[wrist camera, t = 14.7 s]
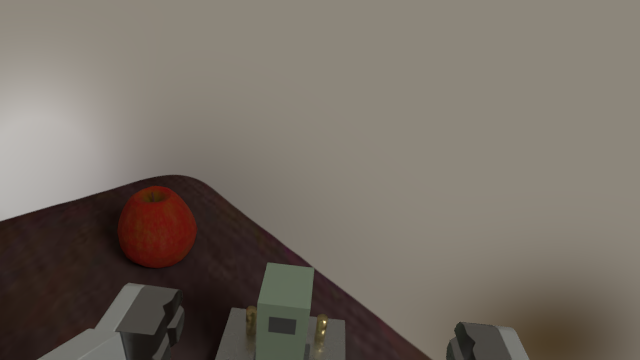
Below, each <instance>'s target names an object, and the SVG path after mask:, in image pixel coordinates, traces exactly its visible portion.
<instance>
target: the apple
mask: <svg viewBox="0 0 640 360" xmlns="http://www.w3.org/2000/svg"><path fill="white" fill-rule="evenodd" d="M196 232H197V226H196V223H195V219H194V216H193V214H192V213H191V211H190V209H189V207H188V206H187V205H186V204H185V202H184V201H183V200H182V199H181V198H180V197H179V196H178V195H177V194H176V193H175V192H173V191H172V190H170V189H169V188H166V187H160V186H152V187H148V188H146V189H143V190H141V191H139V192H137V193H135V194H134V195H132V196H131V198H130V199H129V200H128V201H127V203H126V205H125V207H124V208H123V210H122V213H121V215H120V218H119V222H118V230H117V233H118V237H119V242H120V247H121V249H122V250H123V252H124V253H125V255H126V257H127V258H129V259H130V260H131V261H132V262H134V263H137V264H139V265H142V266H145V267H150V268H163V267H169V266H172V265H174V264H176V263H177V262H179V261H181V260H182V259H183V258H184V257H185V256H186V255H187V254H188V252H189V251H190V249H191V247H192V246H193V244H194V242H195V238H196Z"/></svg>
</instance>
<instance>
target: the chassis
mask: <svg viewBox="0 0 640 360" xmlns="http://www.w3.org/2000/svg"><path fill="white" fill-rule="evenodd" d="M256 335H257V308H256V307H255V306H249V307H247V309H240V308H232V309H231V312H230V315H229V318H228V321H227V324H226V327H225V330H224V334H223V337H222V340H221V343H220V346H219V349H218V352H217V355H216V358H215V360H256ZM303 360H345V321H344V320H335V319H328V317H327V316H326V315H325V314H320V315H318V317H309V322H308V329H307V337H306V344H305V352H304V359H303Z"/></svg>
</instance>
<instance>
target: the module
mask: <svg viewBox="0 0 640 360" xmlns="http://www.w3.org/2000/svg"><path fill="white" fill-rule="evenodd" d="M313 275H314V268H309V267H301V266H292V265H284V264H275V263H268V264H267V268H266V272H265V276H264V280H263V284H262V288H261V291H260V295H259V299H258V306H257V335H256V360H303V359H304V352H305V344H306V337H307V329H308V322H309V315H310V307H311V296H312V285H313Z"/></svg>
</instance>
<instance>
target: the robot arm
mask: <svg viewBox="0 0 640 360" xmlns="http://www.w3.org/2000/svg"><path fill="white" fill-rule="evenodd" d="M182 299H183V296H182V291H181V290H177V289H170V288H163V287H156V286H149V285H141V284H133V283H128V284H127V285H125V286H124V287H123V288H122V290H121V291H120V293H119V294H118V295H117V297H116V298H115V300H114V301H113V303H112V304H111V306H110V307H109V308H108V310H107V311H106V313H105V314H104V316H103V317H102V319H101V320H100V321H99V323H98V324H97V326H96V327H95V329H87V330H86V331H84V332H82V333H81V334H79V335H78V336H76V337H74V338H73V339H71V340H69V341H68V342H66V343H64V344H63V345H61V346H59V347H58V348H56V349H54V350H53V351H51V352H49V353H48V354H46V355H44V356H43V357H41V358H39V359H38V360H170V358H171V351H170V348H171V347H172V346H173V345H175V344H176V343H177V342H178V340H179V338H180V335H181V333H182V329H183V325H184V316H185V315H184V309H183V308H182V307H181V306H180V304H181V302H182ZM454 331H455V334H456V337H455V338H453V339H451V340H450V342H449V344H448V347H447V356H446V359H447V360H529V358H528V356H527V354H526V352H525V350H524V348H523V346H522V344H521V342H520V340H519V338H518V336H517V334H516V332H515V330H514V329H513V328H510V327H501V326H493V325H485V324H476V323H466V322H459V323H458V324H457V325H456V328H455V330H454Z"/></svg>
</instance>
